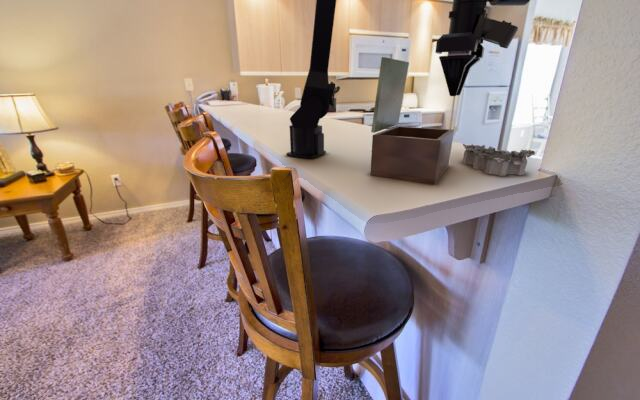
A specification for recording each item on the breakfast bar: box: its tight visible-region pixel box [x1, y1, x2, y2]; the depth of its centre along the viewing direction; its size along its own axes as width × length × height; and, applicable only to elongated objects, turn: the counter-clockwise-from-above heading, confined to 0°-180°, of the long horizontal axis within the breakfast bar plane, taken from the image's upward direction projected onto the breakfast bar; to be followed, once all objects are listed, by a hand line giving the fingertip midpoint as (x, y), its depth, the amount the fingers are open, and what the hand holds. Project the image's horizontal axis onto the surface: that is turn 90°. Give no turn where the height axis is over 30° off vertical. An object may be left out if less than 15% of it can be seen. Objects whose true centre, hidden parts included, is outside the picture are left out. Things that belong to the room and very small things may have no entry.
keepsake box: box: [369, 125, 455, 185], centre depth 51 cm, size 10×12×7 cm
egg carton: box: [461, 143, 536, 177], centre depth 52 cm, size 11×8×4 cm
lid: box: [370, 56, 410, 134], centre depth 50 cm, size 11×12×1 cm
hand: (455, 95), depth 59 cm, fingers open, 5 cm apart
